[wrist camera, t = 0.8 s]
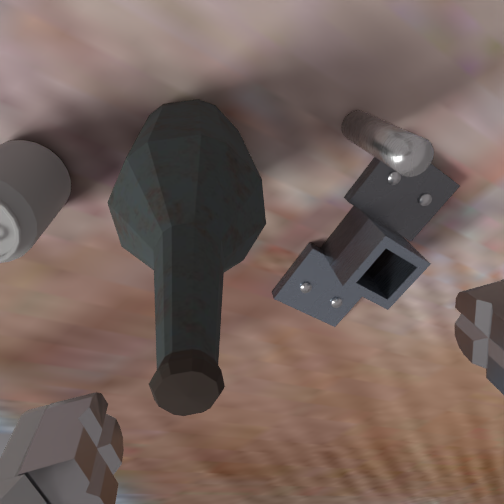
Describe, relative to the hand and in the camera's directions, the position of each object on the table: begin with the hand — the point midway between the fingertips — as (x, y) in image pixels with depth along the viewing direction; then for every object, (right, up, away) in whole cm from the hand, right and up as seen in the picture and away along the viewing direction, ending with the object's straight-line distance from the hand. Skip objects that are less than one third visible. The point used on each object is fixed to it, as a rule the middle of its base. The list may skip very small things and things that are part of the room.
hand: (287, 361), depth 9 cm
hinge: (+12, +4, +37) cm, 39 cm away
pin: (+10, +15, +30) cm, 35 cm away
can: (-22, +10, +29) cm, 38 cm away
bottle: (-7, +13, +30) cm, 33 cm away
